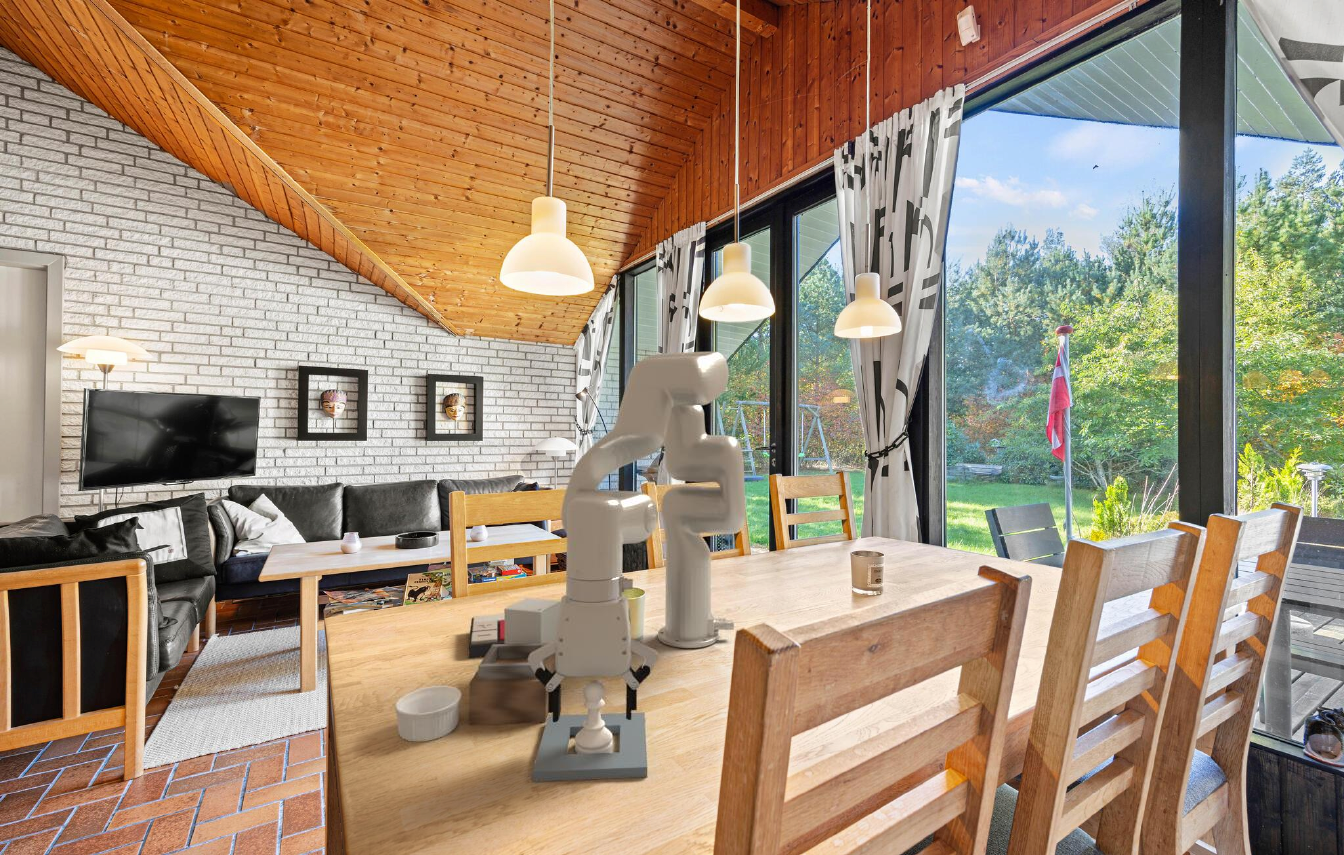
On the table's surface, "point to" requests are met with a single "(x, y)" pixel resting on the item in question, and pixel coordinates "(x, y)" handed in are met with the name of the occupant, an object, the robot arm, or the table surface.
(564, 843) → the table surface
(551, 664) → the riser socket
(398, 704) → the ramekin
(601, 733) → the chess pawn
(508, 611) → the supplement box
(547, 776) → the board
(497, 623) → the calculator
